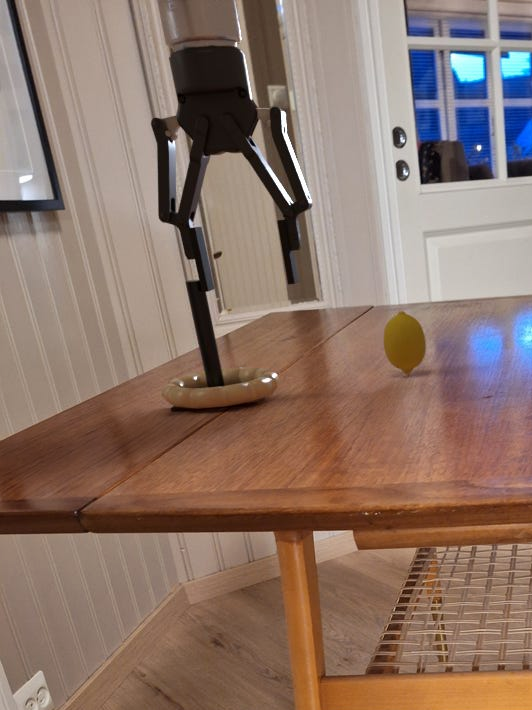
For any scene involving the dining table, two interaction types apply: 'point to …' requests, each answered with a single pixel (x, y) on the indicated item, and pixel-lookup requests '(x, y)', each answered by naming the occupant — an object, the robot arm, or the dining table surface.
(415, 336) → the lemon
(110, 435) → the dining table surface
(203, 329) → the black peg stand
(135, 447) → the dining table surface
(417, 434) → the dining table surface
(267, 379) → the lying ring
